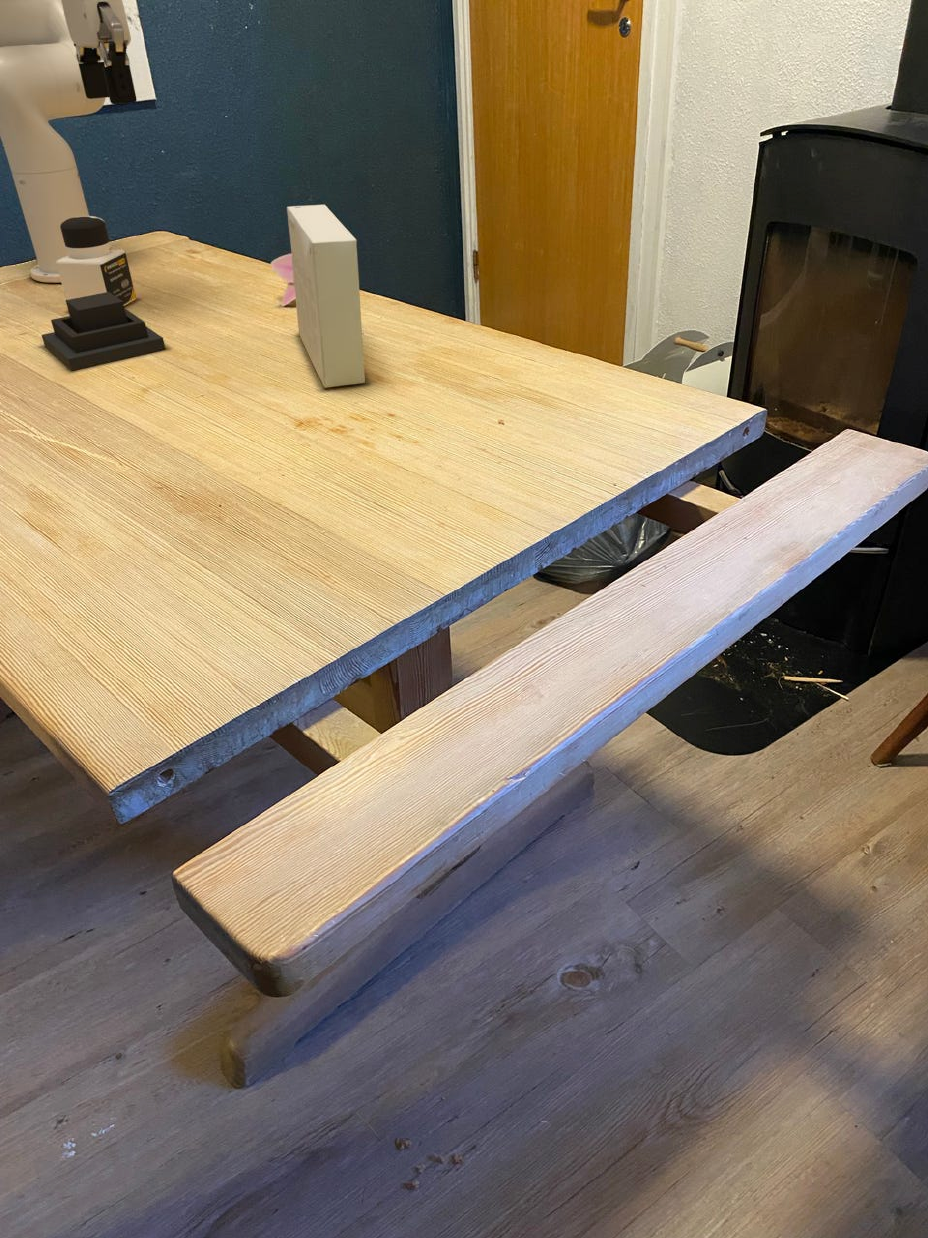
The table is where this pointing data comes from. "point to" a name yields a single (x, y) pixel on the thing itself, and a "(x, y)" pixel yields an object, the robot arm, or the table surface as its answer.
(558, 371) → the table surface
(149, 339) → the base pad
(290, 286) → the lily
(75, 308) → the black block
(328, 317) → the skincare box
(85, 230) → the medicine bottle
